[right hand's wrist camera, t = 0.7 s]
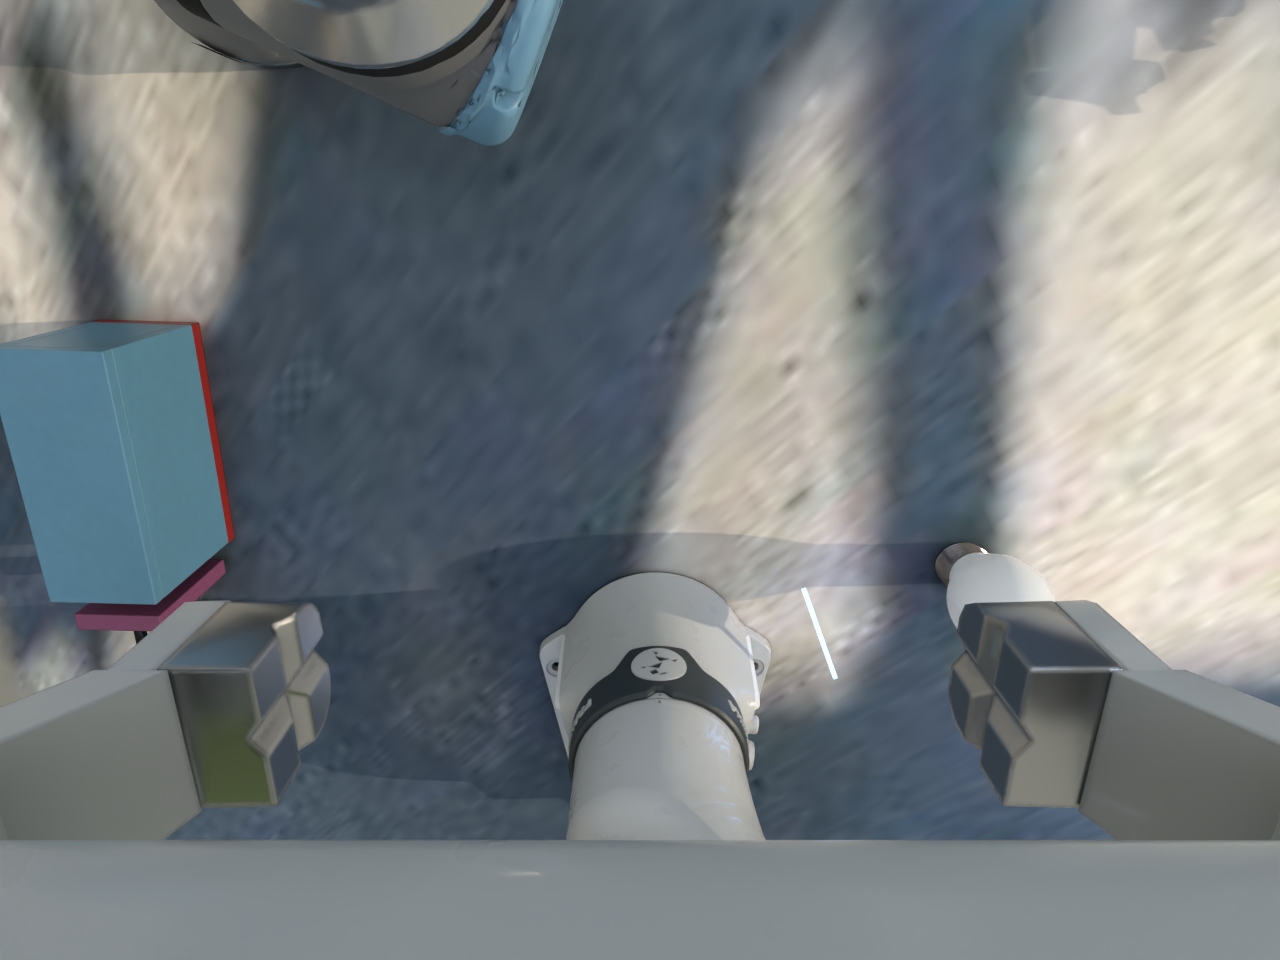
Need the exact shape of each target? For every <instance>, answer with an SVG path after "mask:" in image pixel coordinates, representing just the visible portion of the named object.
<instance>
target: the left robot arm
mask: <svg viewBox="0 0 1280 960" xmlns="http://www.w3.org/2000/svg"><path fill="white" fill-rule="evenodd" d="M154 1H155V2H156V3H157V4H158V6H159V7H160V8H161V9H162V10H163V11H164V12H165V13H166V14H167V15H168V16H169V17H170V18H171V19H172V20H173V21H174V22H175V23H176V24H177V25H179V26H180V27H181V28H182V29H184V30H185V31H186V32H188V33H189V34H190V35H192V36H193V37H195V38H196V39H198V40H199V41H201V42H202V43H203V44H205V45H207V46H209V47H210V48H212V49H214V50H216V51H218V52H220V53H218V52H216V51H214V50H211V49H209V48H207V47H204V46H202V45H199V44H197V45H199V46H201V47H204V48H206V49H208V50H211V51H213V52H215V53H218V54H220V55H222V56H224V57H227V56H229V57H227V58H229V59H231V60H234V59H232V58H235V59H237V60H240V61H243V62H246V63H250V64H254V65H258V66H263V67H270V68H295V67H301V66H307V67H309V68H311V69H313V70H316V71H318V72H320V73H322V74H324V75H326V76H329V77H331V78H333V79H335V80H337V81H339V82H342V83H344V84H346V85H348V86H350V87H353V88H355V89H357V90H359V91H361V92H363V93H366V94H368V95H370V96H372V97H374V98H377V99H379V100H381V101H383V102H385V103H387V104H390V105H392V106H394V107H396V108H398V109H401V110H403V111H405V112H407V113H409V114H411V115H414V116H416V117H418V118H420V119H422V120H425V121H427V122H429V123H431V124H433V125H435V128H436V130H437V131H439V132H440V133H442V134H444V135H446V136H452V135H455V134H456V135H459V136H461V137H464V138H467V139H469V140H472V141H474V142H477V143H480V144H482V145H486V146H494V145H498V144H501V143H503V142H504V141H506V140H507V139H508V138H509V137H510V136H511V135H512V133H513V131H514V129H515V127H516V125H517V123H518V121H519V119H520V116H521V114H522V111H523V109H524V106H525V104H526V101H527V99H528V96H529V93H530V91H531V88H532V85H533V83H534V80H535V77H536V75H537V72H538V69H539V67H540V64H541V61H542V58H543V56H544V53H545V50H546V47H547V45H548V42H549V39H550V36H551V33H552V31H553V28H554V25H555V22H556V19H557V17H558V14H559V11H560V8H561V5H562V2H563V0H154ZM192 43H193V42H192ZM195 44H196V43H195ZM221 53H222V54H221ZM223 54H224V55H223ZM225 55H226V56H225ZM230 57H232V58H230ZM237 60H234V61H237ZM237 62H239V61H237ZM240 63H241V62H240ZM243 64H244V63H243Z"/></svg>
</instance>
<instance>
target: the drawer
mask: <svg viewBox="0 0 1280 960" xmlns="http://www.w3.org/2000/svg"><path fill="white" fill-rule="evenodd" d="M224 574H225V566H224V560H223V559H209V560H207V561H206V562H205V563H204V564H203V565H202V566H200V567H199V568H198V569H197V570H196V571H195V572H193V573H192V574H191V575H190V576H189V577H188V578H186V579H185V580H184V581H183V582H182V583H181V584H180V585H178V586H177V587H176V588H175V589H174V590H173V591H171V592H170V593H169V594H168V595H167V596H166V597H164V598H163V599H162V600H161V601H160V602H159V603H157V604H156V605H151V604H111V603H89V604H88V605H86V606H85V607H84V608H82V609H81V610H80V611H78V612H77V613H76V614H75V619H76V623H77V627H78V629H81V630H121V631H134V635H135V639H136V644H138V643H139V642H140V641H141V640H142V639H143V638H145V637H146V636H147V631H152V630H154V629H155V628H156V627H157V626H158V625H159V624H160V623H162V622H163V621H164V620H165V619H166V618H167V617H168V616H170V615H171V614H172V613H173V612H174V611H175V610H176V609H178V608H179V607H180V606H181V605H182V604H183V603H184V602H193V601H196V600H197V599H198V598H199V597H200V596H201V595H202V594H203V593H204V592H205V591H207V590H208V589H209V588H210V587H211V586H212V585H213V584H214V583H215V582H216V581H217V580H218V579H220V578H221V577H222V576H223V575H224Z"/></svg>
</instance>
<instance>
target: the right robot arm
mask: <svg viewBox="0 0 1280 960" xmlns="http://www.w3.org/2000/svg"><path fill="white" fill-rule="evenodd" d="M802 592H803V595H804V598H805V600H806V603H807V606H808V609H809V612H810V615H811V617H812V620H813V623H814V626H815V629H816V631H817V634H818V637H819V640H820V643H821V646H822V648H823V651H824V654H825V657H826V660H827V663H828V665H829V668H830V671H831V674H832V676H833V679H836V678H837V675H836V672H835V669H834V667H833V664H832V661H831V658H830V655H829V652H828V650H827V647H826V644H825V641H824V638H823V635H822V632H821V630H820V627H819V624H818V621H817V618H816V615H815V613H814V610H813V607H812V604H811V601H810V598H809V596H808V593H807V590H806V588H803V589H802ZM323 635H324V634H323V628H322V623H321V618H320V613H319V610H318V609H317V608H316V607H315V606H314V605H313V604H312V603H307V602H253V601H233V602H232V601H229V600H220V601H193V602H184V603H183V604H182V605H181V606H180V607H179V608H178V609H176V610H175V611H174V612H173V613H172V614H171V615H170V616H168V617H167V618H166V619H165V620H164V621H163V622H162V623H160V624H159V625H158V626H157V627H156V628H155V629H154V630H152V631H151V632H150V633H149V634H148V635H147V636H146V637H145V638H143V639H142V640H141V641H140V642H139V643H138V644H137V645H135V646H134V647H133V648H132V649H131V650H130V651H129V652H127V653H126V654H125V655H124V656H123V657H122V658H121V659H119V660H118V661H117V662H116V663H115V664H114V665H113V666H111V667H110V668H109V669H108V670H93V671H90V672H88V673H85V674H83V675H80V676H78V677H75V678H73V679H70V680H68V681H65V682H63V683H60V684H58V685H55V686H53V687H50V688H48V689H45V690H42V691H40V692H37V693H35V694H32V695H30V696H27V697H25V698H22V699H20V700H17V701H15V702H12V703H10V704H7V705H5V706H2V707H0V960H1280V707H1278V706H1275V705H1273V704H1270V703H1268V702H1265V701H1263V700H1260V699H1258V698H1255V697H1252V696H1250V695H1247V694H1245V693H1242V692H1240V691H1237V690H1235V689H1232V688H1230V687H1227V686H1225V685H1222V684H1220V683H1217V682H1215V681H1212V680H1210V679H1207V678H1205V677H1202V676H1200V675H1197V674H1195V673H1192V672H1190V671H1187V670H1172V669H1171V668H1170V667H1169V666H1167V665H1166V664H1165V663H1164V662H1163V661H1162V660H1161V659H1159V658H1158V657H1157V656H1156V655H1155V654H1154V653H1153V652H1152V651H1150V650H1149V649H1148V648H1147V647H1146V646H1145V645H1144V644H1142V643H1141V642H1140V641H1139V640H1138V639H1137V638H1136V637H1135V636H1133V635H1132V634H1131V633H1130V632H1129V631H1128V630H1127V629H1125V628H1124V627H1123V626H1122V625H1121V624H1120V623H1119V622H1117V621H1116V620H1115V619H1114V618H1113V617H1112V616H1111V615H1110V614H1108V613H1107V612H1106V611H1105V610H1104V609H1103V608H1102V607H1100V606H1099V605H1098V604H1097V603H1094V602H1091V601H1087V600H1076V601H1054V602H1053V601H1030V602H988V603H971V604H965V605H964V608H963V610H962V612H961V614H960V616H959V622H958V628H957V633H956V635H957V636H958V638H959V639H960V641H961V642H962V644H963V645H964V647H965V649H966V650H965V651H964V652H963V654H962V655H961V656H960V657H959V658H958V659H957V660H956V661H955V662H954V663H953V664H952V665H951V673H950V681H949V698H950V707H951V712H952V715H953V718H954V722H955V725H956V727H957V729H958V730H959V732H960V734H961V736H962V737H963V739H964V740H965V741H966V742H968V743H970V744H971V745H973V746H974V747H976V748H978V749H979V750H981V757H980V763H979V766H980V768H981V769H982V771H983V773H984V774H985V776H986V778H987V779H988V781H989V783H990V784H991V786H992V788H993V789H994V791H995V793H996V794H997V796H998V797H999V799H1000V801H1001V802H1002V804H1003V806H1031V807H1068V808H1079V812H1080V813H1082V814H1083V815H1084V816H1086V817H1087V818H1089V819H1090V820H1091V821H1093V822H1094V823H1095V824H1097V825H1098V826H1099V827H1101V828H1102V829H1103V830H1105V831H1106V832H1107V833H1109V834H1110V835H1112V836H1113V837H1114V838H1116V839H1117V840H766V839H765V837H764V835H763V833H762V830H761V827H760V824H759V820H758V817H757V814H756V811H755V807H754V804H753V800H752V796H751V793H750V789H749V784H748V780H747V778H748V772H749V770H751V769H752V767H753V763H754V753H755V750H754V743H753V742H751V740H748V734H757V732H758V727H759V718H758V716H755V715H754V713H755V710H756V709H758V708H759V704H760V699H759V696H760V693H761V689H762V686H763V683H764V679H765V676H766V673H767V669H768V666H769V662H770V659H771V647H770V644H769V642H768V641H767V640H766V639H765V638H764V637H763V636H761V635H760V634H758V633H757V632H755V631H753V630H752V629H750V628H748V627H746V626H744V625H743V624H742V623H741V622H740V620H739V619H738V618H737V617H736V615H735V614H734V612H733V611H732V609H731V608H730V607H729V605H728V604H727V603H726V602H725V601H724V600H723V599H722V598H721V597H720V596H719V595H718V594H717V593H716V592H714V591H713V590H712V589H710V588H709V587H707V586H705V585H704V584H702V583H700V582H698V581H696V580H693V579H691V578H688V577H685V576H681V575H677V574H671V573H661V572H650V573H641V574H635V575H631V576H627V577H624V578H621V579H618V580H616V581H614V582H612V583H610V584H608V585H606V586H604V587H603V588H601V589H600V590H598V591H597V592H596V593H594V594H593V595H592V596H591V597H590V598H589V599H588V600H587V601H586V602H585V603H584V604H583V605H582V607H581V608H580V609H579V611H578V612H577V614H576V615H575V616H574V618H573V619H572V620H571V621H570V622H569V623H568V624H567V625H566V626H565V627H563V628H561V629H559V630H558V631H556V632H554V633H553V634H551V635H550V636H548V637H547V638H546V639H544V640H543V642H542V643H541V645H540V661H541V664H542V668H543V671H544V675H545V678H546V682H547V685H548V689H549V693H550V696H551V700H552V703H553V707H554V710H555V714H556V717H557V721H558V724H559V728H560V731H561V735H562V739H563V742H564V746H565V749H566V753H567V756H568V761H569V772H570V778H571V781H572V792H571V801H570V810H569V819H568V828H567V837H566V840H163V839H165V838H166V837H167V836H169V835H170V834H171V833H173V832H174V831H176V830H177V829H178V828H180V827H181V826H182V825H184V824H185V823H186V822H188V821H189V820H190V819H192V818H193V817H194V816H196V815H197V814H199V813H200V812H201V808H212V807H247V806H277V804H278V803H279V801H280V799H281V798H282V796H283V794H284V793H285V791H286V789H287V788H288V786H289V784H290V783H291V781H292V779H293V778H294V776H295V774H296V773H297V771H298V769H299V768H300V766H301V763H300V757H299V750H301V749H302V748H304V747H306V746H307V745H309V744H310V743H312V742H314V741H315V740H316V739H317V737H318V736H319V734H320V732H321V730H322V728H323V727H324V725H325V722H326V718H327V714H328V710H329V706H330V702H331V678H330V671H329V665H328V664H327V663H326V662H325V661H324V660H323V659H322V658H321V657H320V656H319V655H318V654H317V653H316V651H315V650H314V649H315V647H316V646H317V644H318V642H319V641H320V639H321V638H322V636H323ZM555 662H559V664H558V666H555V665H554V664H553V663H555ZM754 662H756V663H757V664H756V665H754Z"/></svg>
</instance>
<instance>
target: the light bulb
mask: <svg viewBox="0 0 1280 960" xmlns="http://www.w3.org/2000/svg"><path fill="white" fill-rule="evenodd" d="M935 569H936V573H937V575H938V576H939V578H940V579H941V580H942V582H943V583H944V584H945V585H946V587H947V597H946V598H947V606H948V611H949V614H950V617H951V619H952V621H953V623H954V625H955V626H956V628H958V622H959V616H960V614H961V612H962V610H963V608H964V605H965V604H971V603H988V602H1030V601H1053V602H1054V601H1055V597H1054V595H1053V593H1052V591H1051V589H1050V587H1049V585H1048V584H1047V582H1046V581H1045V580H1044V579H1043V577H1042V576H1041V575H1040V574H1039V573H1038V572H1037V571H1036V570H1035V569H1033V568H1032V567H1031V566H1029V565H1028V564H1026V563H1025V562H1023V561H1021V560H1018V559H1016V558H1013V557H1011V556H1008V555H1002V554H986V552H985V551H984V550H983V549H982V548H980V547H979V546H977V545H975V544H971V543H958V544H954V545H951V546H949V547H947V548H946V549H945V550H943V551H942V552H941V553H940V555H939V556H938V558H937V560H936V564H935Z"/></svg>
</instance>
